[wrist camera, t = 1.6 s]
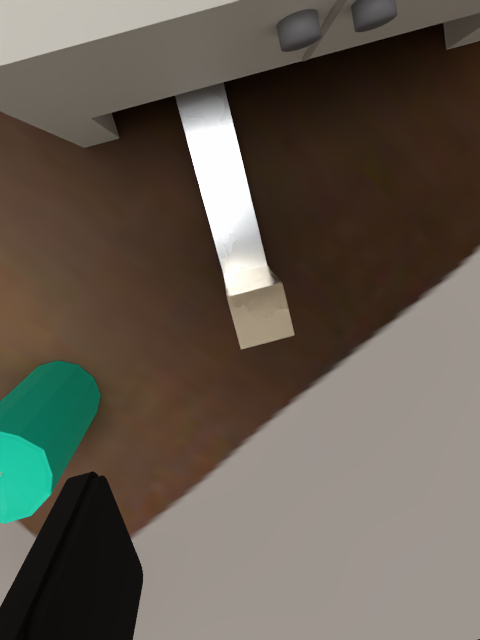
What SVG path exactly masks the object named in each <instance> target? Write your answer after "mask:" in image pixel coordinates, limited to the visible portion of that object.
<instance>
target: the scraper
mask: <svg viewBox="0 0 480 640" xmlns="http://www.w3.org/2000/svg"><path fill="white" fill-rule="evenodd" d="M175 98H176V101H177V105H178V109H179V112H180V116H181V120H182V124H183V127H184V131H185V135H186V138H187V142H188V146H189V149H190V153H191V157H192V160H193V164H194V168H195V172H196V175H197V179H198V183H199V186H200V190H201V194H202V197H203V201H204V205H205V208H206V212H207V216H208V220H209V223H210V227H211V231H212V234H213V238H214V242H215V245H216V249H217V253H218V256H219V260H220V264H221V267H222V271H223V275H224V280H225V288H226V295H227V300H228V303H229V307H230V311H231V314H232V318H233V322H234V325H235V329H236V333H237V336H238V340H239V344H240V347H241V349H245V348H248V347H252V346H256V345H260V344H264V343H267V342H271V341H275V340H279V339H283V338H286V337H290V336H294V331H293V326H292V322H291V318H290V313H289V309H288V305H287V301H286V296H285V292H284V288H283V283H282V282H281V280H280V279H279V278H278V277H277V276H276V275H275V274H274V272H273V271H272V270H271V269H270V268H269V267H268V266H267V262H266V258H265V254H264V250H263V246H262V241H261V237H260V233H259V229H258V225H257V221H256V216H255V212H254V208H253V204H252V200H251V196H250V191H249V187H248V183H247V179H246V175H245V171H244V166H243V162H242V158H241V154H240V150H239V146H238V142H237V137H236V133H235V129H234V125H233V121H232V117H231V112H230V108H229V104H228V100H227V96H226V92H225V87H224V83H219V84H215V85H212V86H208V87H204V88H201V89H197V90H193V91H189V92H186V93H182V94H178V95H175Z"/></svg>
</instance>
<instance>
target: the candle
mask: <svg viewBox="0 0 480 640" xmlns="http://www.w3.org/2000/svg"><path fill="white" fill-rule="evenodd" d="M100 396H101V394H100V392H99V389H98V387H97V384H96V382H95V379H94V377H93V376H91V375H90V374H89V373H88V372H86V371H85V370H84V369H83V368H82V367H80V366H79V365H76V364H72V363H67V362H63V361H55V362H51V363H47V364H43V365H40V366H38V367H37V368H36V369H35V370H34V371H33V372H32V373H31V374H30V375H28V376H27V377H26V378H25V379H24V380H23V381H22V382H21V383H20V384H19V385H18V386H17V387H15V388H14V389H13V390H12V391H11V392H10V393H9V394H8V395H7V396H6V397H5V398H4V399H2V400H1V401H0V523H8V522H11V521H15V520H18V519H22V518H25V517H28V516H31V515H32V514H33V513H34V512H35V511H36V510H37V509H38V508H39V507H40V506H41V505H42V503H43V502H44V501H45V500H46V499H47V498H48V497H49V496H50V495H51V493H52V491H53V490H54V488H55V486H56V484H57V483H58V481H59V479H60V477H61V475H62V474H63V472H64V470H65V468H66V467H67V465H68V463H69V461H70V459H71V458H72V456H73V454H74V452H75V451H76V449H77V447H78V445H79V444H80V442H81V440H82V438H83V436H84V435H85V433H86V431H87V429H88V428H89V426H90V424H91V422H92V420H93V419H94V417H95V415H96V413H97V411H98V406H99V401H100Z"/></svg>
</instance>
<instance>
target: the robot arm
mask: <svg viewBox="0 0 480 640" xmlns="http://www.w3.org/2000/svg"><path fill="white" fill-rule="evenodd" d="M142 584H143V571H142V566H141V563H140V561H139V558H138V556H137V553H136V551H135V548H134V546H133V543H132V541H131V538H130V536H129V533H128V531H127V528H126V526H125V523H124V521H123V518H122V516H121V513H120V511H119V508H118V506H117V503H116V501H115V499H114V496H113V494H112V491H111V489H110V486H109V484H108V481H107V479H106V478H105V477H104V476H98V475H97V474H96V473H95V472H90V473H86V474H82V475H78V476H75V477H71V478H68V480H67V481H66V483H65V485H64V486H63V488H62V490H61V492H60V494H59V496H58V498H57V500H56V502H55V504H54V506H53V507H52V509H51V511H50V513H49V515H48V517H47V519H46V521H45V523H44V525H43V527H42V528H41V530H40V532H39V534H38V536H37V538H36V540H35V542H34V544H33V546H32V548H31V549H30V551H29V553H28V555H27V557H26V559H25V561H24V563H23V565H22V567H21V569H20V570H19V572H18V574H17V576H16V578H15V580H14V582H13V584H12V586H11V588H10V590H9V591H8V593H7V595H6V597H5V599H4V601H3V603H2V605H1V607H0V640H133V635H134V629H135V624H136V618H137V612H138V607H139V600H140V596H141V590H142ZM478 640H480V639H478Z"/></svg>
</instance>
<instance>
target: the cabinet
mask: <svg viewBox="0 0 480 640" xmlns="http://www.w3.org/2000/svg"><path fill="white" fill-rule="evenodd" d="M440 23H443V25H444V35H445V44H446V50H448V49H452V48H455V47H459V46H463V45H467V44H470V43H474V42H478V41H480V0H0V111H1V112H3V113H5V114H7V115H10V116H12V117H14V118H17V119H19V120H21V121H24V122H26V123H28V124H31V125H33V126H35V127H37V128H40V129H42V130H44V131H47V132H49V133H51V134H54V135H56V136H58V137H61V138H63V139H65V140H67V141H70V142H72V143H74V144H77V145H79V146H81V147H84V148H86V147H90V146H93V145H97V144H101V143H104V142H108V141H112V140H115V139H119V135H118V132H117V129H116V125H115V122H114V119H113V116H112V112H116V111H119V110H123V109H127V108H130V107H134V106H138V105H142V104H145V103H149V102H153V101H156V100H160V99H164V98H167V97H171V96H175V95H178V94H182V93H186V92H189V91H193V90H197V89H201V88H204V87H208V86H212V85H215V84H219V83H223V82H226V81H230V80H234V79H237V78H241V77H245V76H248V75H252V74H256V73H259V72H263V71H267V70H271V69H274V68H278V67H282V66H285V65H289V64H293V63H296V62H300V61H306V60H309V59H311V58H315V57H318V56H322V55H326V54H330V53H333V52H337V51H341V50H344V49H348V48H352V47H355V46H359V45H363V44H366V43H370V42H374V41H377V40H381V39H385V38H388V37H392V36H396V35H400V34H403V33H407V32H411V31H414V30H418V29H422V28H425V27H429V26H433V25H436V24H440Z"/></svg>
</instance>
